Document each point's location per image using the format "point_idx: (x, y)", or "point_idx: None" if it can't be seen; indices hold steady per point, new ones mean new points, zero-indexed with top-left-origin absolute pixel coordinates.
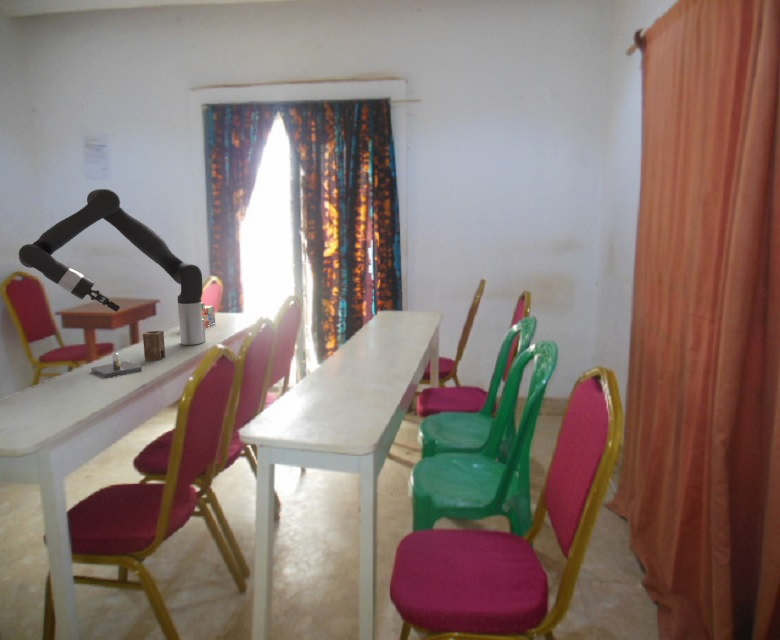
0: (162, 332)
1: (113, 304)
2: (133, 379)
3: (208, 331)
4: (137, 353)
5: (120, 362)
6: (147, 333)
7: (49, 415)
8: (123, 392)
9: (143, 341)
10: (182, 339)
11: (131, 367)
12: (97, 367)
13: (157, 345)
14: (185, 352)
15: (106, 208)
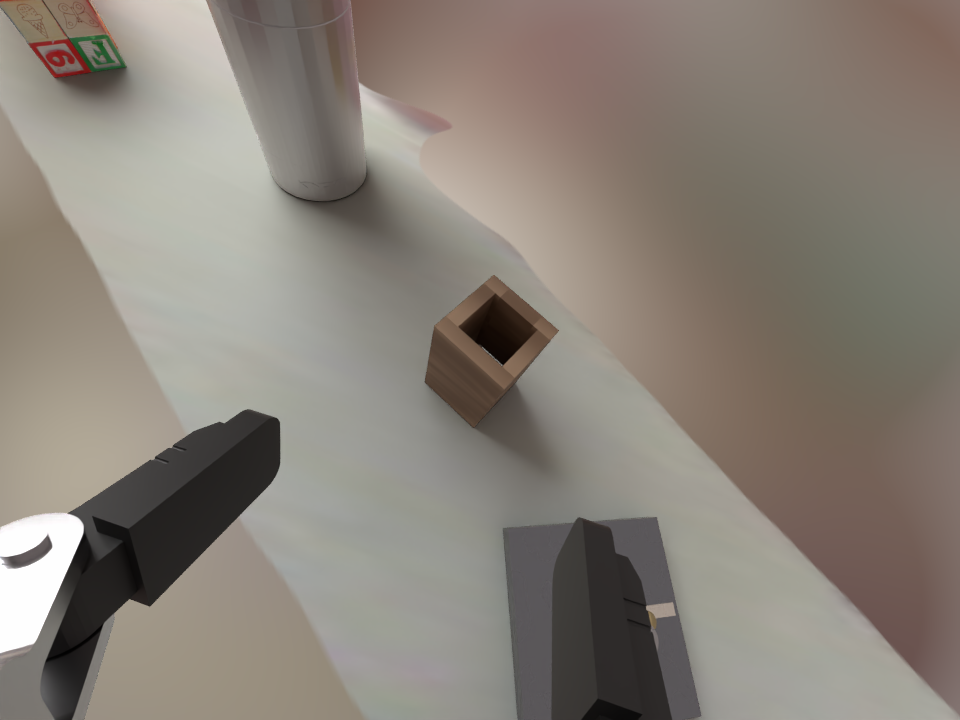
0: (504, 288)
1: (654, 652)
2: (755, 598)
3: (174, 37)
4: (304, 391)
5: (517, 562)
6: (509, 364)
7: None
8: (921, 707)
9: (493, 402)
10: (316, 183)
11: (645, 556)
12: (546, 713)
13: (531, 362)
14: (458, 263)
15: None
